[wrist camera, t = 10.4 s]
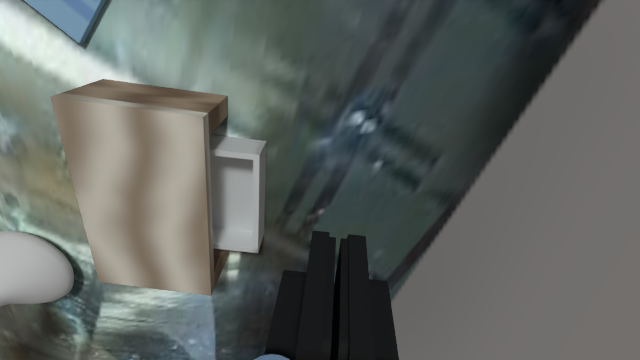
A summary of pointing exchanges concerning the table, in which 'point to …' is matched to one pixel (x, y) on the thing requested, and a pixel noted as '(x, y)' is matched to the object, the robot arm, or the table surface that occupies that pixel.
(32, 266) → the flower in vase
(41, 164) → the table surface
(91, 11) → the blue flat rectangular slab
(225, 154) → the white open tray
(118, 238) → the tan slab
